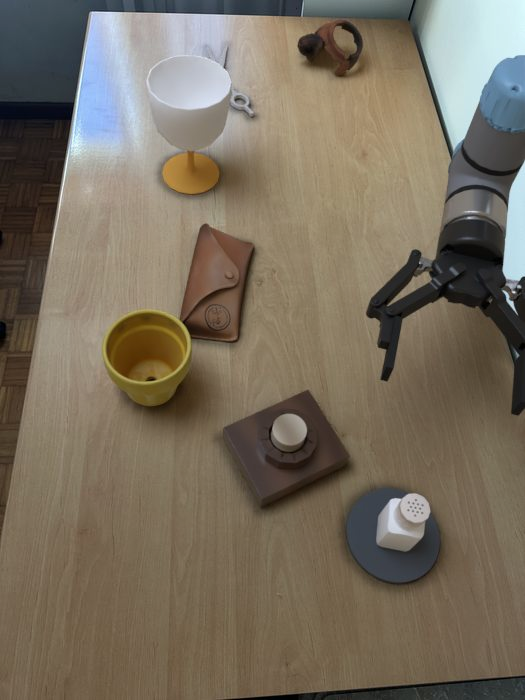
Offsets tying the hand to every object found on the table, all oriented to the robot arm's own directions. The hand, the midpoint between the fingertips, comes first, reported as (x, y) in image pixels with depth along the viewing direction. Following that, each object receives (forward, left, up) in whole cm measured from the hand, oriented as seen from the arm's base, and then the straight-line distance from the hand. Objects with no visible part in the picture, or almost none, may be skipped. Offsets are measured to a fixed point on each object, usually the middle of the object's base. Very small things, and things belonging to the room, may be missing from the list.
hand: (452, 391), depth 67 cm
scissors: (+36, -66, -19) cm, 78 cm away
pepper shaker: (+1, +10, -18) cm, 20 cm away
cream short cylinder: (+15, +2, -14) cm, 21 cm away
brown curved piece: (+18, -76, -19) cm, 81 cm away
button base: (+15, +2, -19) cm, 24 cm away
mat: (+1, +10, -19) cm, 21 cm away
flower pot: (+33, -4, -19) cm, 38 cm away
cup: (+36, -42, -19) cm, 59 cm away
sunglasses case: (+28, -21, -19) cm, 40 cm away
